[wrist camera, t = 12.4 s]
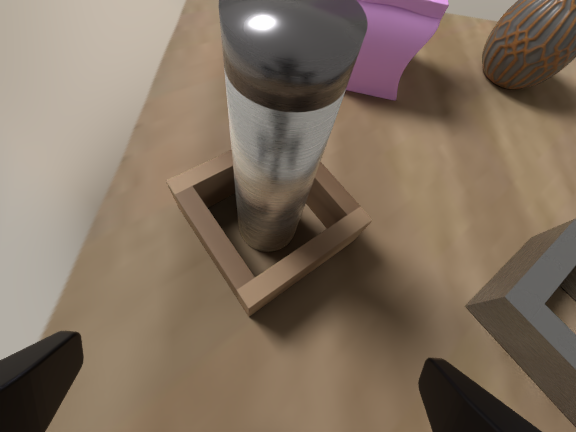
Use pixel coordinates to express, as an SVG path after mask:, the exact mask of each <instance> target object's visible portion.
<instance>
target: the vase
mask: <svg viewBox="0 0 576 432" xmlns="http://www.w3.org/2000/svg"><path fill="white" fill-rule="evenodd" d="M575 57H576V0H518V1H517V2H516V3H515V4H514V5H513V6H511V7H510V8H509V9H508V10H507V12H506V13H505V14H504V15H503V16H502V17H501V18H500V20H499V21H498V22H497V24H496V25H495V27H494V28H493V30H492V31H491V33H490V35H489V37H488V39H487V41H486V44H485V46H484V50H483V55H482V64H483V70H484V73H485V75H486V76H487V77H488V78H489V79H490V80H491V81H492V82H493V83H495V84H497V85H498V86H501V87H503V88H507V89H520V88H527V87H530V86H534V85H537V84H539V83H541V82H543V81H545V80H547V79H549V78H550V77H552V76H554V75H555V74H557V73H558V72H559V71H561V70H562V69H563V68H564V67H566V66H567V65H568V64H569V63H570V62H571V61H572V60H573V59H574V58H575Z"/></svg>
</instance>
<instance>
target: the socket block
mask: <svg viewBox="0 0 576 432" xmlns="http://www.w3.org/2000/svg"><path fill="white" fill-rule="evenodd" d="M559 285H560V286H561V287H562V288H563V289H564V290H565V291H566V292H567V293H568V294H569V295H570V296H571V297H572V298H574V299H575V300H576V219H573V220H571V221H569V222H566V223H564V224H562V225H559V226H557V227H555V228H552V229H550V230H548V231H545V232H543V233H541V234H538V235H536V236H533V237H532V238H531V239H530V240H529V241H528V242H527V243H526V244H525V245H524V246H523V247H522V248H521V249H520V250H519V251H518V252H517V253H516V254H515V255H514V256H513V257H512V258H511V259H510V260H509V261H508V262H507V263H506V264H505V265H504V266H503V267H502V268H501V270H500V271H499V272H498V273H497V274H496V275H495V276H494V277H493V278H492V279H491V280H490V281H489V282H488V283H487V284H486V285H485V286H484V287H483V288H482V289H481V290H480V291H479V292H478V293H477V294H476V295H475V296H474V297H473V298H472V299H471V301H470V302H469V303H468V304H467V305H466V306H465V307H466V308H467V309H468V310H469V311H470V312H471V313H472V314H473V315H474V316H475V317H476V319H477V320H478V321H479V322H480V323H481V324H482V325H483V326H484V327H485V328H486V329H487V331H488V332H489V333H490V334H491V335H492V336H493V337H494V338H495V339H496V340H497V341H498V343H499V344H500V345H501V346H502V347H503V348H504V349H505V350H506V351H507V352H508V353H509V355H510V356H511V357H512V358H513V359H514V360H515V361H516V362H517V363H518V364H519V365H520V367H521V368H522V369H523V370H524V371H525V372H526V373H527V374H528V375H529V376H530V377H531V379H532V380H533V381H534V382H535V383H536V384H537V385H538V386H539V387H540V388H541V389H542V391H543V392H544V393H545V394H546V395H547V396H548V397H549V398H550V399H551V400H552V401H553V403H554V404H555V405H556V406H557V407H558V408H559V409H560V410H561V411H562V412H563V413H564V415H565V416H566V417H567V418H568V419H569V420H570V421H571V422H572V423H573V424H574V425H575V427H576V335H575V334H574V333H573V332H572V331H571V330H570V329H569V328H568V327H567V326H566V325H565V324H564V323H563V322H562V321H561V320H560V319H559V318H558V317H557V316H556V315H555V314H554V313H553V312H552V311H551V310H550V309H549V308H548V307H547V306H546V305H545V302H546V301H547V300H548V299H549V298H550V296H551V295H552V294H553V293H554V291H555V290H556V289H557V288H558V286H559Z"/></svg>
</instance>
